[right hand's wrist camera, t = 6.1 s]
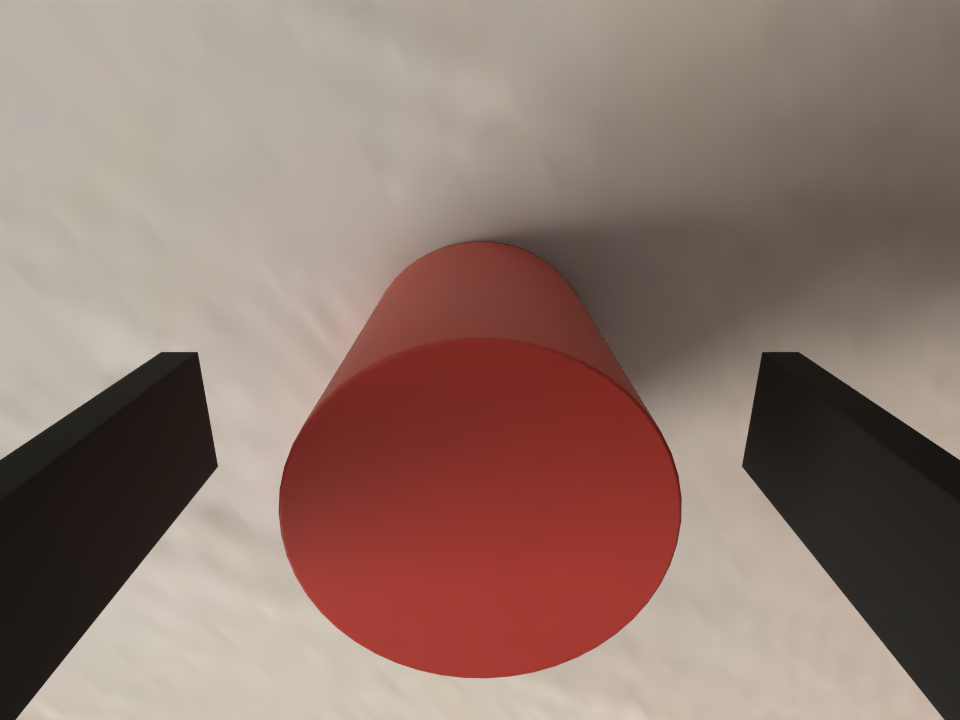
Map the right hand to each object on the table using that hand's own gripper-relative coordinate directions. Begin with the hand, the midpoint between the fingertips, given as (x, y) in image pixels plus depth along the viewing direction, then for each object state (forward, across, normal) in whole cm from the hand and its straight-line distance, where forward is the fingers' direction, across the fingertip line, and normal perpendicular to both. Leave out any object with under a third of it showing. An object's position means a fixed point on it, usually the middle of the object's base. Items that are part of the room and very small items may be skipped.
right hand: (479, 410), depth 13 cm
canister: (+4, 0, 0) cm, 4 cm away
